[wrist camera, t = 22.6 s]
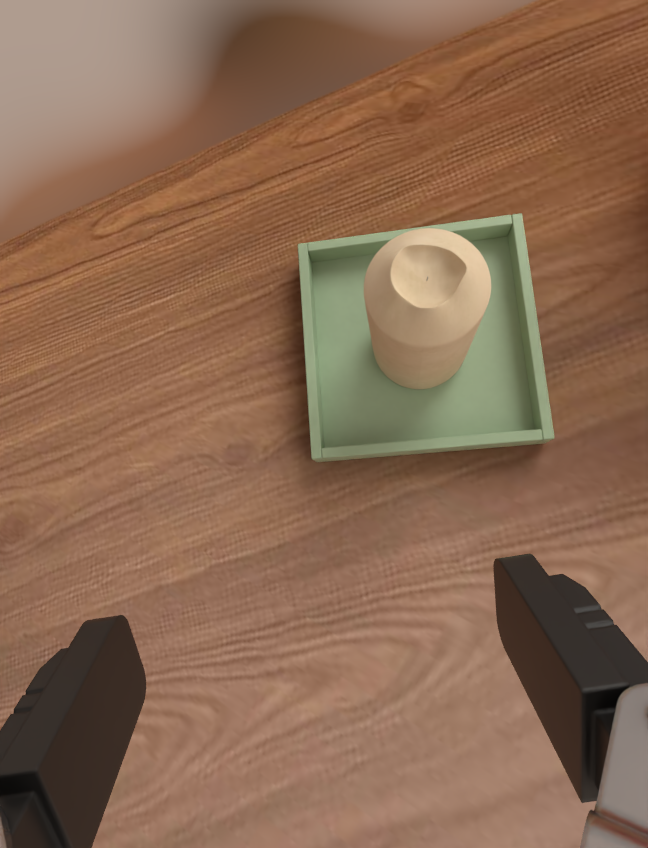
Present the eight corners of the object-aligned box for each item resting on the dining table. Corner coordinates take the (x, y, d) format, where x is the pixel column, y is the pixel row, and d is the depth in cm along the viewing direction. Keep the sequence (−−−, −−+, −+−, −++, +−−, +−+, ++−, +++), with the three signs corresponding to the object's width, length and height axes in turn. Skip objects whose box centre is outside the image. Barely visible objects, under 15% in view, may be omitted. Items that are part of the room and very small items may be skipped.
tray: (316, 462, 31) (311, 459, 30) (303, 258, 34) (297, 243, 32) (544, 443, 30) (555, 439, 28) (514, 230, 32) (522, 212, 30)
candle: (468, 302, 31) (499, 208, 21) (465, 392, 30) (496, 337, 21) (375, 301, 32) (364, 210, 22) (370, 389, 31) (357, 334, 21)
